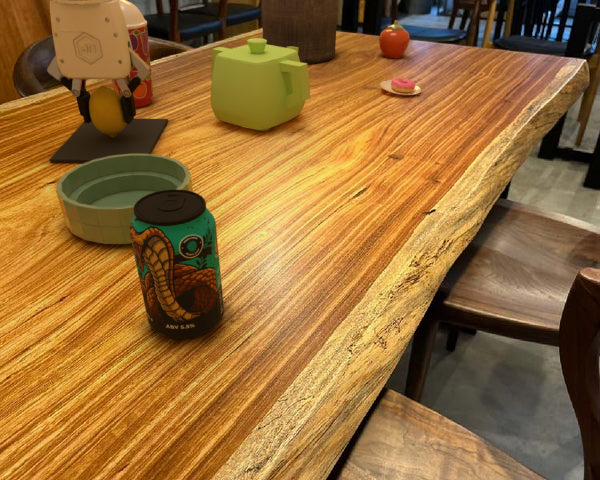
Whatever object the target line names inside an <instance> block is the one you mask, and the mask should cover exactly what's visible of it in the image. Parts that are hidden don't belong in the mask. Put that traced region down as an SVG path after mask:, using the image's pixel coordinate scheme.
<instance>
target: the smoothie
mask: <svg viewBox="0 0 600 480" xmlns="http://www.w3.org/2000/svg"><path fill="white" fill-rule="evenodd" d="M118 1H119V4H120V7H121V9H122V12H123V15H124V18H125V22H126V25H127V29H128V32H129V36H130V40H131V45H132V49H133V51H134V52H135V53H136V54H137V55H138V56H139V57H140V58H141V59H142V60H143V61H144V62H145V63H146V64H147V65H148V66H149V67H150V68H151V69H152V66H151V65H152V64H151V54H150V44H149V31H148V21H147V20H146V18H145V17H144V15H143V13H142V12H141V10H140V9H139V8H138V7H137V6H136V4H134V3H132V2H131V1H129V0H118ZM137 73H138V70H137V69H136V68H135V67H134V69H133V70H131V71H130V73H129V74H128V75H129V77H130V79H131V80H132V79H133V78H134V77H135V76H136V75H137ZM152 75H153V74H152V71H151V72H150V74H149V75H148V76H147V77H146V78H145V79H144V80H143V81H142V83H141V84H140V85H139V86H138V87H137V88H136V90H135V91H134V92H133V96H134V102H135V107H136V108H141V107H146V106H149V105H150V104H151V103H152V97H153V96H154V87H153V76H152ZM111 83H112V87H113V90H115V91H116V92H117V93H118V94H119V95H120V96H121V97H122V91H121V89H120V88H119V86H118V84H117V82H116V80H115V79H111Z"/></svg>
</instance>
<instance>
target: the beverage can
mask: <svg viewBox="0 0 600 480" xmlns="http://www.w3.org/2000/svg"><path fill="white" fill-rule="evenodd" d="M133 209H134V217H133V219H132V221H131V223H130V227H129V232H130V237H131V242H132V243H131V246H132V251H133V256H134V261H135V265H136V271H137V274H138V280H139V284H140V289H141V294H142V298H143V304H144V308H145V309H144V310H145V314H146V317H147V323H148V324H149V327H150V328H151V329H152V330H154V331H155V332H156V333H157V334H160V335H161V336H164V337H166V338H168V339H172V340H178V341H181V340H182V341H183V340H184V341H186V340H193V339H197V338H200V337H203V336H205V335H206V334H209V332H211V331H212V330H213V329H214V328H215V327H217V325H219V323H221V321H222V319H223V317H224V313H225V305H224V295H223V285H222V273H221V264H220V263H221V261H220V253H219V243H218V232H217V231H218V230H217V222H216V219H215V216H214V214H213V213H212V212H211V211H210V210H209V208H207V202H206V199H205V197H203V196H202V195H201V194H199V193H197V192H196V191H195V192H194V191H193V192H192V191H187V190H174V189H172V190H163V191H158V192H154V193H151V194H148V195H146V196H144V197H142V198H141V199H140V200H138V201H137V202H136V204H135V205H134V208H133Z"/></svg>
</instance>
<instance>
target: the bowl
mask: <svg viewBox="0 0 600 480" xmlns="http://www.w3.org/2000/svg"><path fill="white" fill-rule="evenodd" d="M172 189H174V190H187V191H192V192H194V189H193V181H192V175H191V172H190V169H189V167H188V166H187V165H185V163H183V162H182V161H180V160H178V159H176V158H172V157H169V156H166V155H161V154H153V153H151V154H122V155H113V156H108V157H103V158H99V159H95V160H91V161H89V162H86V163H80V164H78V165H76V166H74V167H73V168H71V169H69V170H68V171H67V172H65V173H64V174H63V175H62V176H61V177H60V178H59V180H57V182H56V190H55V192H56V195H57V199H58V203H59V206H60V210H61V213H62V216H63V220H64V223H65V226H66V227H67V229H69V231H70V233H71V234H72V235H74V236H76V237H78V238H80V239H82V240H84V241H88V242H92V243H97V244H101V245H102V244H104V245H128V244H132V242H131V237H130V232H129V227H130V223H131V221H132V219H133V217H134V209H133V208H134V205H135V204H136V202H137V201H138V200H140V199H141V198H142V197H144V196H146V195H148V194H151V193H154V192H158V191H163V190H172Z"/></svg>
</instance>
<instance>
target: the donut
mask: <svg viewBox="0 0 600 480" xmlns="http://www.w3.org/2000/svg"><path fill="white" fill-rule="evenodd" d="M379 86H380V87H381V88H382V90H385V91H386V92H388V93H391V94H394V95H397V96H405V97H406V96H407V97H408V96H409V97H410V96H415V95H418V94H420V93H421V92H422V89H421V87H420V86H418V85H416V83H415V82H414V80H413V79H410V78H406V77H394V78H393V79H389V80H384V81H381V82H380V84H379ZM366 88H370V89H371V88H372V85H369V86H367V85H366ZM373 88H374V89H376V88H377V86H374V87H373Z"/></svg>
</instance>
